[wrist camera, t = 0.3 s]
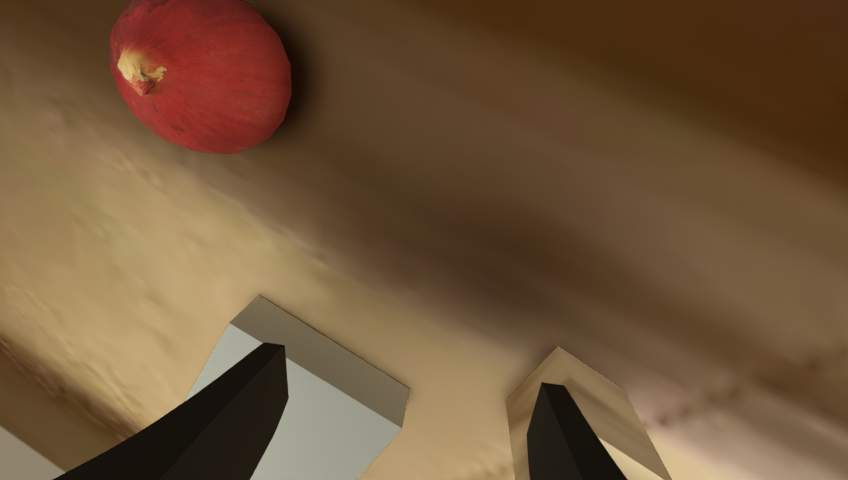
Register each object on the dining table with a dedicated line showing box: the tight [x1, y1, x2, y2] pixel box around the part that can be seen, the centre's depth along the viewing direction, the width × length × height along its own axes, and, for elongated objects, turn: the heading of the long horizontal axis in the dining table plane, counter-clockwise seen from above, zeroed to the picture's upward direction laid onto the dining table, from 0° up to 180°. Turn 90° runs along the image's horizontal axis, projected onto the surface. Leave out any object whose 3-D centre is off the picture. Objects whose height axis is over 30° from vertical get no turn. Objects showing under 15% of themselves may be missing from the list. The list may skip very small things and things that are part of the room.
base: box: [185, 295, 410, 480], centre depth 23 cm, size 10×10×3 cm
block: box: [506, 346, 672, 480], centre depth 20 cm, size 4×4×6 cm
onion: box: [108, 0, 292, 154], centre depth 15 cm, size 6×6×8 cm
